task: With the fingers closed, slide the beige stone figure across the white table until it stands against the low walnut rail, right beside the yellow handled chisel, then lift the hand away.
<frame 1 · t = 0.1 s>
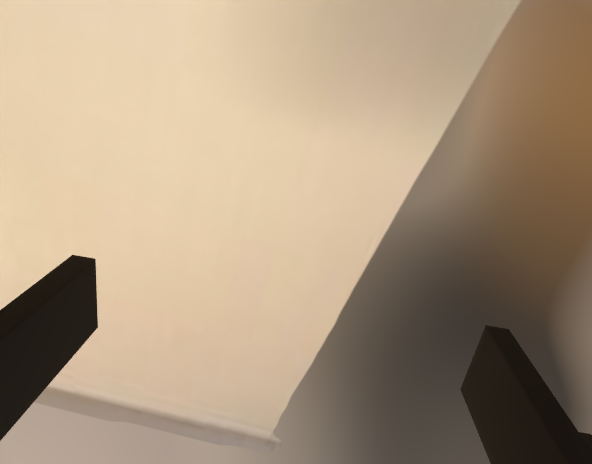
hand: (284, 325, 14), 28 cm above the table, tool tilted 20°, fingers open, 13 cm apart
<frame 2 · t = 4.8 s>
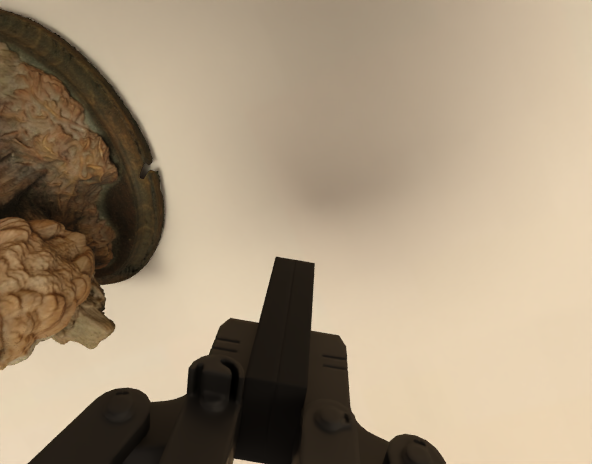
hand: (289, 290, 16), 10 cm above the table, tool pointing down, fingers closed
beige stone figure: (61, 162, 26), on the table
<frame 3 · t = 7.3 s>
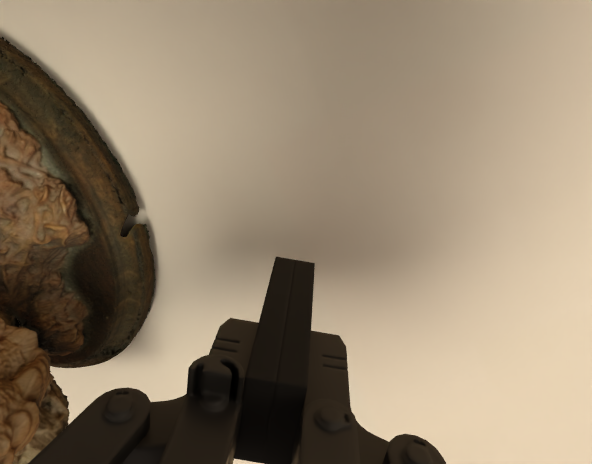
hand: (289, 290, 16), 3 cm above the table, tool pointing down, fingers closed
beige stone figure: (18, 209, 19), on the table
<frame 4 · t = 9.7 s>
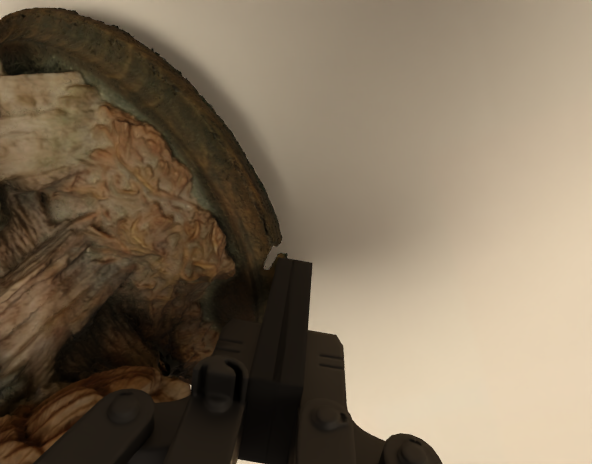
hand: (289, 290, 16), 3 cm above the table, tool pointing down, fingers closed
beige stone figure: (153, 225, 18), point 1 cm above the table, touching gripper, hand
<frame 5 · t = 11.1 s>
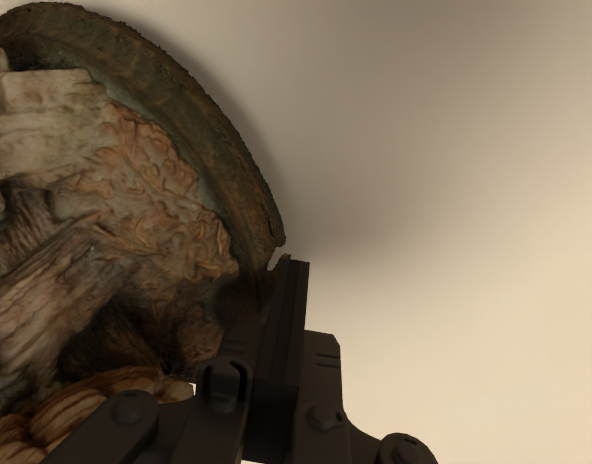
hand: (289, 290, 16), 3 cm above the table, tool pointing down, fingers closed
beige stone figure: (156, 222, 18), point 1 cm above the table, touching gripper, hand
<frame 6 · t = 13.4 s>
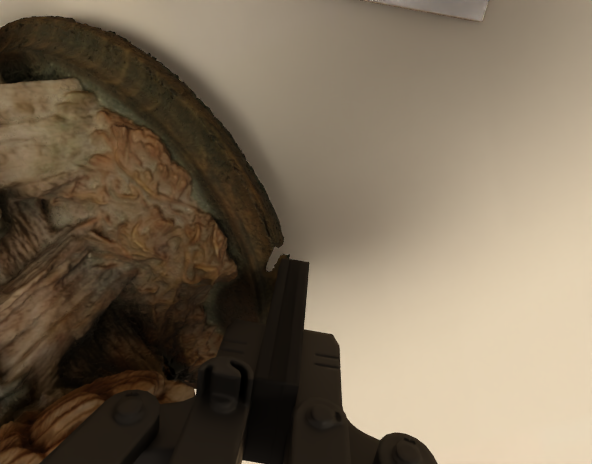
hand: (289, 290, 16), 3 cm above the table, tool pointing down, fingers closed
beige stone figure: (155, 229, 18), point 1 cm above the table, touching gripper, hand
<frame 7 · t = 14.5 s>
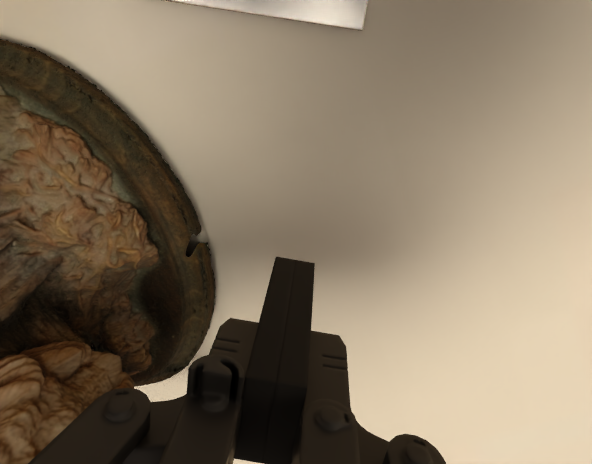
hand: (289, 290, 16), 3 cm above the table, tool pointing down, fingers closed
beige stone figure: (79, 232, 19), on the table
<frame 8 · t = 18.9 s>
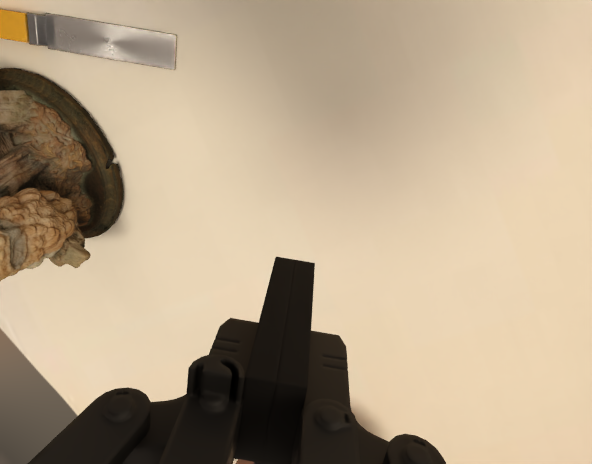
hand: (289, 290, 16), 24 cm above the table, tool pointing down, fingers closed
beige stone figure: (58, 159, 41), on the table
yellow handled chisel: (62, 33, 36), on the table
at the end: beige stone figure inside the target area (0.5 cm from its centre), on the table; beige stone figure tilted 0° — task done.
